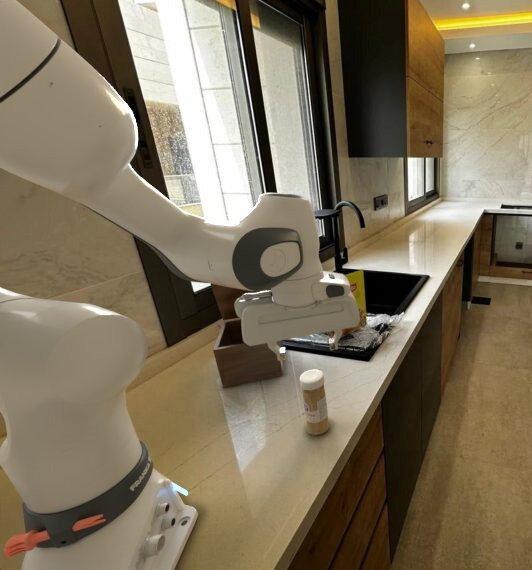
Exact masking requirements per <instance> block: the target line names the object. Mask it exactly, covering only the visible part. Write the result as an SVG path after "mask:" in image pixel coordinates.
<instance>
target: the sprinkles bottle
mask: <svg viewBox="0 0 532 570" xmlns="http://www.w3.org/2000/svg"><path fill="white" fill-rule="evenodd" d="M299 386H300V388H301V391H302V398H303V407H304V413H305V414H304V415H305V419H306V426H307V427H306V429H307V432H308V434H309V435H312V436H319V435H322V434H324V433H326V432H327V431H328V429H329V428H330V421H329V415H328V414H329V412H328V404H327V403H328V402H327V395H326V389H325V375H324V371H322V370H320V369H317V368H316V369H314V368H313V369H308V370H305V371H304V372H302V374H300V376H299Z"/></svg>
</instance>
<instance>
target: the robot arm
mask: <svg viewBox="0 0 532 570" xmlns="http://www.w3.org/2000/svg"><path fill="white" fill-rule="evenodd" d="M138 142H139V132H138V126H137V122H136V118H135V116H134V112H133V110H132V109H131V108H130V107H129V105H128V103H126V101H124V99H123V97H121V96H120V94H119V93H118V92H117V91H116V89H114V87H113V86H112V85H111V84H110V83H109V82H108V81H107V80H106V79H105V77H104V76H102V75H101V74H100V73H99V71H98V70H97V69H95V68H94V66H92V65H91V64H90V63H89V62H88V61H87V60H86V59H84V57H83V56H81V55H80V54H79V53H78V52H77V51H75V50H74V49H73V47H71V46H70V45H69V44H68V43H67V42H65V41H64V40H63V39H62V38H61V37H60V36H58V35H57V34H56V33H55V31H53V30H52V29H51V28H49V27H48V26H47V25H46V24H45V23H44V21H42V20H40V19H39V18H38V17H37V16H35V14H33V13H32V12H31V11H30V10H29V9H28V8H26V6H24V5H23V4H21V3H20V2H19V1H18V0H0V169H2V170H4V171H7V172H8V173H10V174H13V175H15V176H17V177H19V178H22V179H24V180H26V181H28V182H31V183H32V184H35V185H38V186H40V187H43V188H45V189H47V190H50V191H52V192H54V193H56V194H59V195H60V196H63V197H66V198H68V199H70V200H72V201H75V202H76V203H78V204H80V205H82V206H83V207H85V208H87V209H88V210H90V211H92V212H93V213H95V214H96V215H98V216H100V217H101V218H103V219H104V220H106V221H108V222H110V224H113V225H114V226H116V227H118V228H120V229H121V230H123V231H125V232H126V233H128V234H130V235H131V236H133V237H134V238H137V239H138V240H139V241H141V242H143V243H144V244H146V245H147V246H148V247H149V248H151V249H152V251H154V252H155V253H156V255H157V256H158V257H159V258H160V260H161V261H162V263H163V264H164V265H165V266H166V267H167V268H168V270H169V271H170V272H172V273H173V274H174V275H175V276H177V277H179V278H180V279H182V280H184V281H188V282H193V283H200V284H201V283H202V284H210V283H211V284H216V285H221V286H226V287H230V288H237V289H242V290H247V291H262V292H258V293H247V294H243V295H242V297H239V298H238V299H237V300H236V301H235V304H234V307H235V311H236V314H237V316H238V317H240V318H239V319H241V326H242V336H243V341H244V342H245V343H246V344H247V345H249V346H253V345H259V344H264V343H267V344H268V348H270V349H271V350H272V351H273V352H274V353H275V354H277V359H278V361H280V360H283V361H284V360H287V359H288V358H287V352H286V351H287V350H286V346H283V348H280V347H279V346H278V345H277V341H280V340H282V341H285V340H291V339H296V338H297V339H298V338H302V337H307V336H313V335H318V334H323V333H329V332H330V331H334V332H335V334H334V336H333V338H331V339H330V338H328V344H329V350H330V351H334V350H338V349H339V344H338V342H339V341H340V339H341V338H342V337H341V335H342V329H346V328H352V327H356V326H357V325H358V324H359V322H360V316H359V310H358V306H357V303H356V300H355V298H354V296H353V294H352V292H351V289H350V283H349V281H348V279H347V278H346V277H345V274H344V273H340V272H339V273H338V272H334V271H333V272H332V271H329V270H328V271H327V270H324V269H323V264H322V262H321V260H320V257H319V251H320V237H319V230H318V224H317V219H316V215H315V211H314V209H313V205H312V203H311V202H310V199H308V198H306V197H305V196H304V195H300V194H293V193H282V192H281V193H280V192H264V193H262V194H259V196H258V198H257V203H256V204H255V206H253V208H252V209H251V210H250V211H249V212H248V213H246V214H245V215H244V216H243V217H241V218H239V219H237V220H236V221H231V220H220V219H214V218H210V217H204V216H199V215H195V214H191V213H190V212H187V211H185V210H183V209H182V208H180V207H179V206H178V205H176V204H175V203H174V202H173V201H171V200H170V199H168V197H166V196H165V195H164V194H162V193H161V192H160V191H159V190H158V189H156V188H155V187H154V186H152V185H151V184H150V183H149V182H148V181H146V180H145V179H144V178H143V177H141V176H140V175H139V174H138V173H137V172H136V171H135V170H134V168H132V165H131V162H132V160H133V159H134V157H135V155H136V153H137V148H138ZM211 284H210V285H211ZM269 289H271V290H269ZM266 290H269V291H266ZM272 296H273V297H272ZM241 299H243V300H241ZM340 337H341V338H340ZM148 353H149V343H148V338H147V335H146V333H145V331H144V329H143V328H142V326H141V325H140V324H139V323H138V322H136V321H135V320H134V319H132V318H130V317H128V316H125V315H123V314H120V313H118V312H116V311H113V310H110V309H108V308H104V307H101V306H98V305H95V304H92V303H84V302H74V301H65V300H64V301H63V300H56V299H55V300H53V299H46V298H41V297H34V296H29V295H26V294H22V293H18V292H14V291H12V290H9V289H6V288H4V287H1V286H0V414H1V416H2V417H3V419H4V423H5V428H6V438H5V440H4V441H3V442H2V443H1V446H0V467H1V468H2V470H3V471H4V473H5V474H6V476H7V478H8V480H9V481H10V482H11V484H12V485H13V487H14V489H15V490H16V492H17V493H18V495H19V496H20V498H21V500H22V504H21V505H22V516H21V517H22V518H21V519H22V523H23V524H24V531H25V533H20V534H15V535H12V536H11V537H9V538H8V539H7V541H6V543H5V545H4V547H3V549H4V550H3V553H4V556H5V557H6V558H12V557H15V556H18V555H19V554H22V553H25V554H24V557H23V560H22V564H21V567H20V570H175V569H176V567H177V565H178V562H179V560H180V558H181V556H182V553H183V551H184V549H185V547H186V544H187V542H188V540H189V538H190V536H191V534H192V531H193V529H194V527H195V524H196V521H197V520H198V518H199V511H198V510H197V508H195V507H194V506H192V505H187V504H185V503H184V501H183V499H182V497H181V496H180V494H183V495H184V496H188V495H189V492H188V490H186V489H185V488H182V487H181V486H179V485H178V484H176V483H175V482H173V481H172V480H170V478H169V477H167V476H165V475H163V474H162V473H160V472H159V471H158V470H156V469H155V468H154V462H153V460H152V455H151V453H150V450H149V449H148V447H147V446H146V444H145V443H144V441H142V440H140V439H139V437H138V434H137V431H136V429H135V426H134V425H133V421H132V418H131V416H130V414H129V411H128V406H127V397H126V395H127V388H128V387H129V386H130V385H131V384H132V383H133V382H134V381H135V380H136V379H137V378H138V376H139V375H140V374H141V372H142V370H143V368H144V366H145V364H146V361H147V357H148ZM179 493H180V494H179Z"/></svg>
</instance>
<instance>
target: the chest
mask: <svg viewBox="0 0 532 570" xmlns="http://www.w3.org/2000/svg"><path fill="white" fill-rule="evenodd" d="M214 343H215V344H214V346H213V349H212V352H213V355H214V359H215V363H216V366H217V370H218V374H219V377H220V382H221V385H222V388H227V387H228V388H229V387H233V386H239V385H242V384H243V385H244V384H246V383H247V384H248V383H252V382H256V381H257V382H258V381H261V380H262V381H263V380H266V379H271V378H275V377H281V376H283V375H284V360H280V361H278V359H277V354H275V353H274V352H273V351H272V350H271V349H270V348H268V344H267V343H264V344H259V345H253V346H249V345H247V344H246V343H245V342H244V341H243V336H242V326H241V318H236V319H229V320H223V322H222V324H221V326H220V330H219V332H218V336H217V338H216V342H214ZM277 345H278V346H279V347H280V348H283V347H284V342H283V340H280V341H277Z"/></svg>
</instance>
